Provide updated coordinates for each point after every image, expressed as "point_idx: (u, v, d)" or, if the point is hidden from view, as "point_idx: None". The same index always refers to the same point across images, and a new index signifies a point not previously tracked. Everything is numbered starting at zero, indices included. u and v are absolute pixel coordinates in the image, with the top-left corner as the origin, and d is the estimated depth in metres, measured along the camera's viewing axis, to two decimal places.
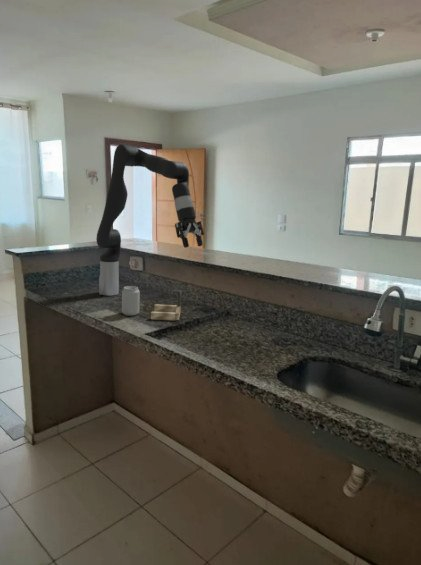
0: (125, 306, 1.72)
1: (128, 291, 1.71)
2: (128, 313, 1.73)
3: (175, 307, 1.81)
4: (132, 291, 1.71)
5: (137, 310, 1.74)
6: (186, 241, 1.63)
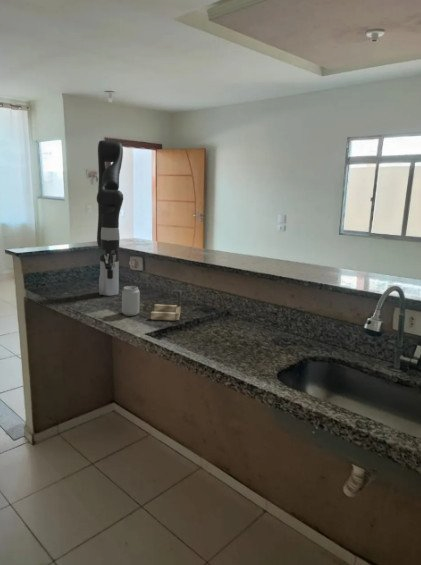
0: (125, 306, 1.72)
1: (128, 291, 1.71)
2: (128, 313, 1.73)
3: (175, 307, 1.81)
4: (132, 291, 1.71)
5: (137, 310, 1.74)
6: (111, 273, 1.72)
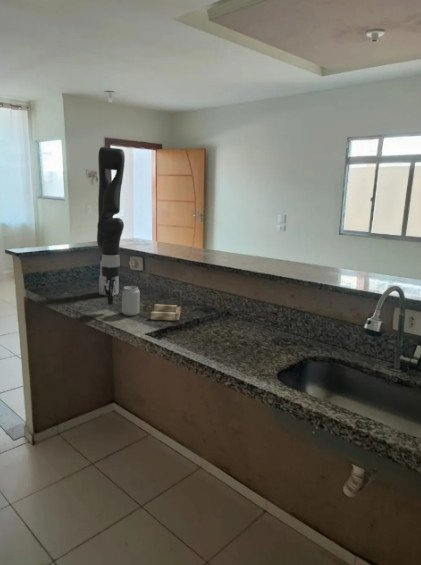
0: (125, 306, 1.72)
1: (128, 291, 1.71)
2: (128, 313, 1.73)
3: (175, 307, 1.81)
4: (132, 291, 1.71)
5: (137, 310, 1.74)
6: (112, 299, 1.74)
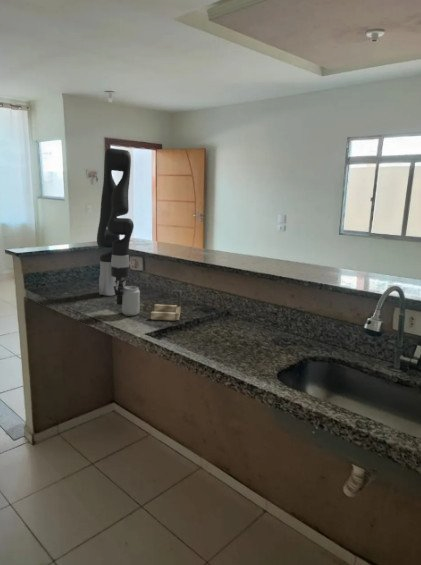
0: (125, 306, 1.72)
1: (128, 291, 1.71)
2: (128, 313, 1.73)
3: (175, 307, 1.81)
4: (132, 291, 1.71)
5: (137, 310, 1.74)
6: (121, 299, 1.74)
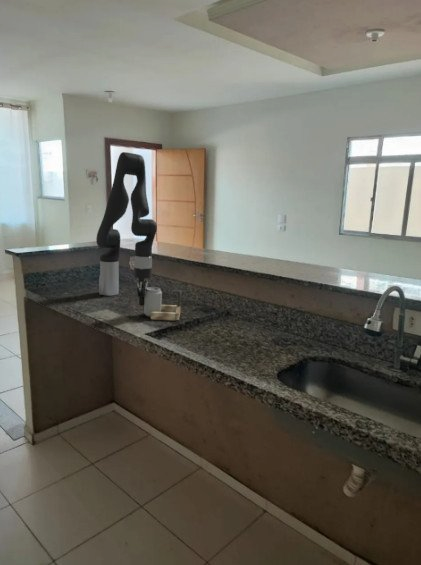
0: (147, 307, 1.72)
1: (151, 292, 1.71)
2: (150, 314, 1.73)
3: (175, 307, 1.81)
4: (154, 292, 1.71)
5: (159, 311, 1.74)
6: (143, 300, 1.74)
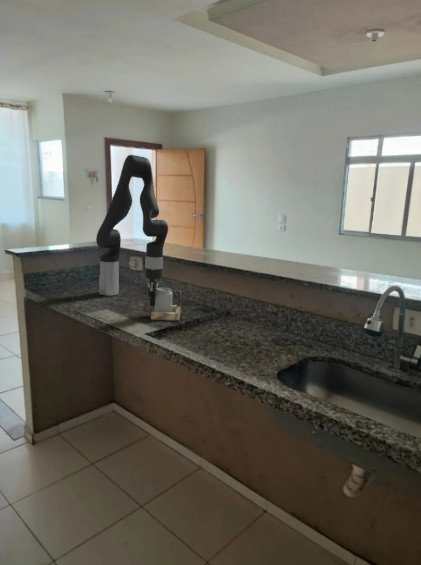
0: (158, 308, 1.73)
1: (161, 293, 1.71)
2: None
3: (175, 307, 1.81)
4: (165, 293, 1.71)
5: None
6: (154, 301, 1.75)
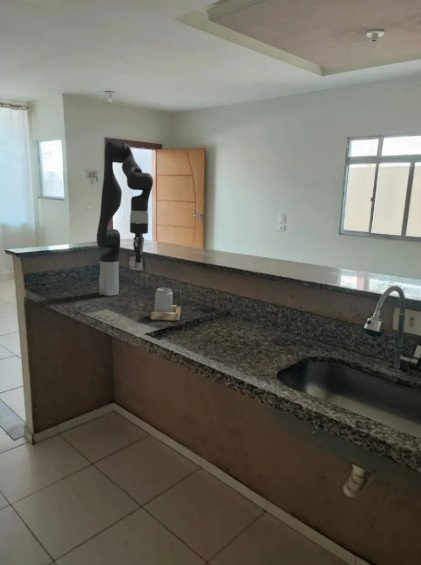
0: (158, 308, 1.73)
1: (161, 293, 1.71)
2: None
3: (175, 307, 1.81)
4: (165, 293, 1.71)
5: None
6: (140, 257, 1.71)
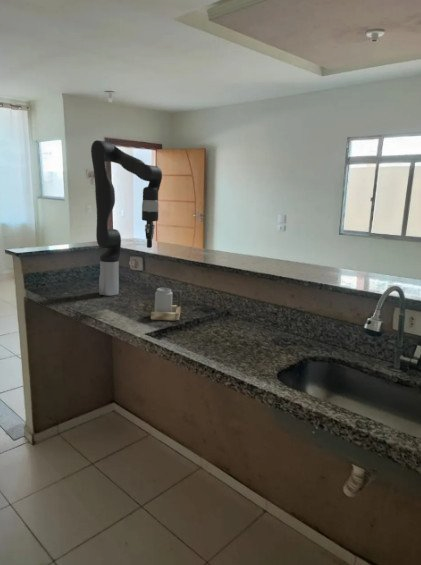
0: (158, 308, 1.73)
1: (161, 293, 1.71)
2: None
3: (175, 307, 1.81)
4: (165, 293, 1.71)
5: None
6: (151, 243, 1.88)
